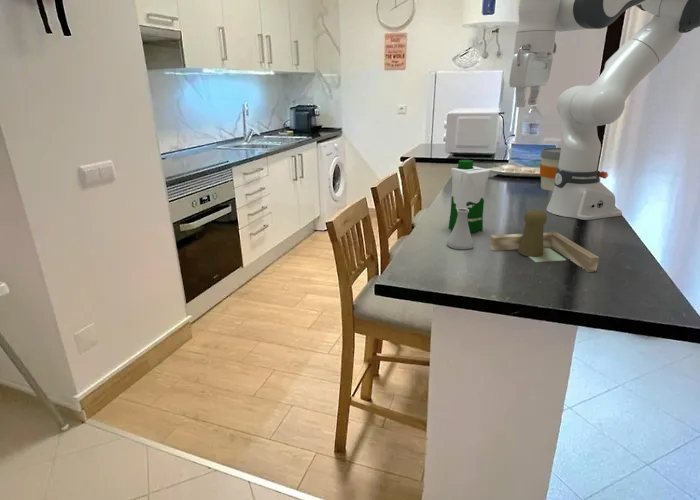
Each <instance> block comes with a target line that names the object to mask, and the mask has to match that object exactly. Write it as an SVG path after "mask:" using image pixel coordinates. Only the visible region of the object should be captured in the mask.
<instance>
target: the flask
mask: <svg viewBox="0 0 700 500" xmlns="http://www.w3.org/2000/svg"><path fill="white" fill-rule="evenodd" d="M457 212H458V216H457V220H456V224H455V226H454V228H453V230H452V231H451V233H450V235H449V237H448V239H447V242H446V246H447V247H449V248H451V249H454V250H469V249H473V248H474V242H473V238H472V234H470V230H469V226H468V219H467V215H468V213H469V209H466V208H458V209H457Z"/></svg>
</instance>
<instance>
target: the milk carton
mask: <svg viewBox="0 0 700 500" xmlns="http://www.w3.org/2000/svg"><path fill="white" fill-rule="evenodd" d="M450 170H451V180H452V181H451V183H452V184H451V187H452V188H451V202H450V213H449V220H448V227H447V228H448V229H449V230H452V231H453V228H454V226H455V224H456V220H457V216H458V212H457V209H458V208H466V209H469V213H468V215H467V219H468V226H469V230H470V234H471V235H472V234H475V233H480V232H483V231H484V230H483V228H484V226H483V225H484V223H483V222H484V221H483V219H484V217H483V215H484V207H485V206H484V205H485V196H486V186H487V182H488V179H489V176H490V173H491V170H490V169H485V168H483V167H479V166H474V160H473V159H459V160H458V166H457V167H452V168H450Z"/></svg>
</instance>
